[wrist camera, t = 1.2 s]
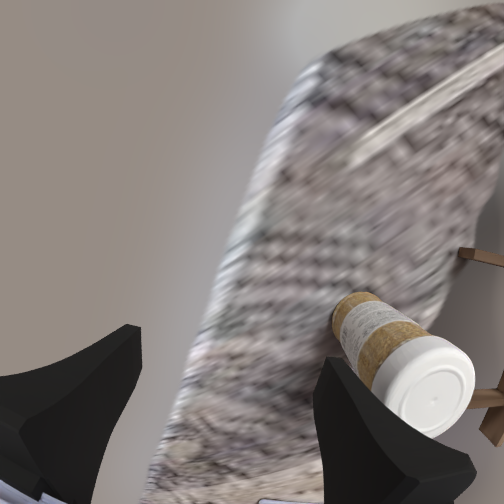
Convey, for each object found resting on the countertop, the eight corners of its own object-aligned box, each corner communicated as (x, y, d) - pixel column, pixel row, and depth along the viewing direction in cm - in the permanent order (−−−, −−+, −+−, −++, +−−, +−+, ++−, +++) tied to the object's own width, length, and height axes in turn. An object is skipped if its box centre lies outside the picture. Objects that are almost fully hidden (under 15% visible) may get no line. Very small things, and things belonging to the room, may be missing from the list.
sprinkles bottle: (380, 347, 23) (459, 439, 10) (326, 344, 24) (369, 451, 10) (389, 291, 23) (490, 347, 10) (333, 287, 23) (397, 350, 10)
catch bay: (483, 428, 23) (500, 446, 19) (404, 434, 23) (418, 458, 19) (539, 224, 21) (565, 224, 17) (465, 198, 22) (492, 193, 18)
